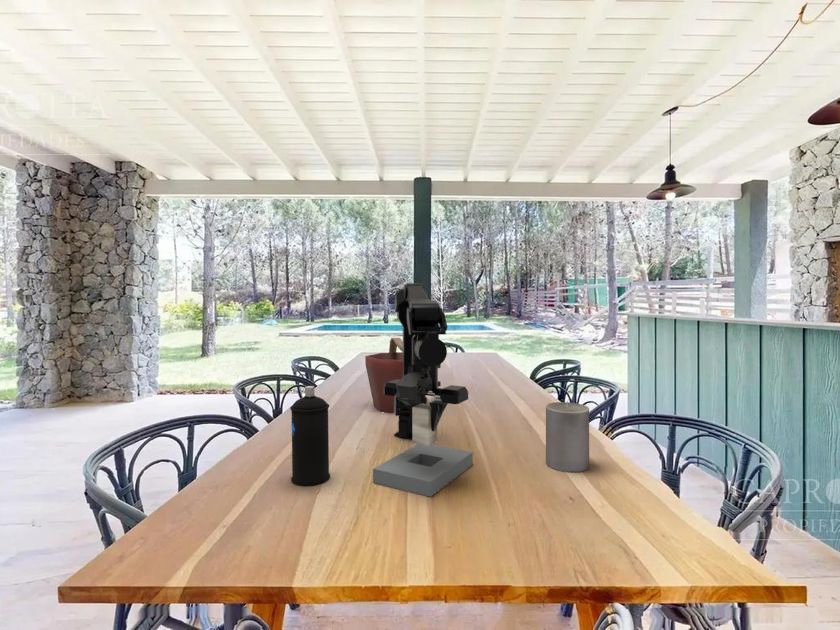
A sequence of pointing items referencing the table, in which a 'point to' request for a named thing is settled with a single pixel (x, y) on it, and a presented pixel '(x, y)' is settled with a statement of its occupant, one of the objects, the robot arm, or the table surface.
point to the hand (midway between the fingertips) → (425, 429)
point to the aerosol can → (310, 440)
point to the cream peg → (422, 425)
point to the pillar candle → (567, 436)
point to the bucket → (384, 374)
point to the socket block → (423, 469)
